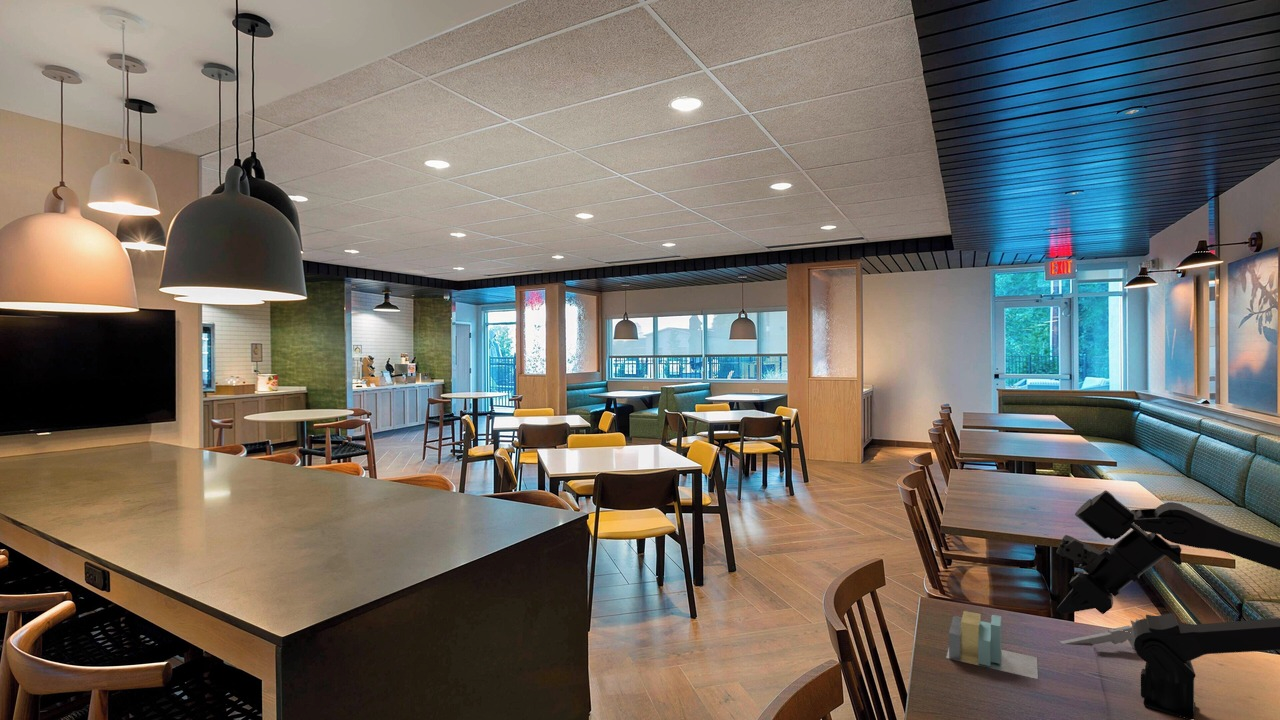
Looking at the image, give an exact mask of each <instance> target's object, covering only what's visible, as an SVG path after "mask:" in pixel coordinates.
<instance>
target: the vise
mask: <svg viewBox="0 0 1280 720" xmlns="http://www.w3.org/2000/svg"><path fill="white" fill-rule="evenodd" d="M961 620H962V616H958V615H953V617H952V621H951V623H950V627H949V631H948V649H947V652H946V656H945V658H946V659H949V660H954V661H959V662H962V663H965V664H966V663H967V664H970V665H975V666H980V667H984V668H988V669H993V670H997V671H1001V672H1005V673H1010V674H1013V675H1018V676H1023V677H1026V678H1031V679H1036V680H1038V679H1039V675H1038V657H1036V656H1033V655H1027V654H1023V653H1018V652H1014V651H1009V650H1005V649H1002V653H1001V664H999V663H994V662H991V665H990V666H986V665H982V664H978V661H974V660H969V659H965V658H961Z"/></svg>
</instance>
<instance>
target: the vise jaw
mask: <svg viewBox="0 0 1280 720" xmlns="http://www.w3.org/2000/svg"><path fill="white" fill-rule="evenodd" d="M990 620H991V621H990V622H988V621H983V620H981V625H980V631H979V637H978V664H982V665H986V666H990V665H991V662H994V663H999V664H1001V653H1002V650H1003V649H1002V616H1001V615H995V614H992V615H991V618H990Z"/></svg>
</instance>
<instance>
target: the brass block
mask: <svg viewBox="0 0 1280 720" xmlns="http://www.w3.org/2000/svg"><path fill="white" fill-rule="evenodd" d="M981 615H982V614H981V613H977V612H971V611H966V610H963V612H962V616H961V617H962V620H961V658H965V659H969V660H974V661H978V637H979V631H980V625H981V621H982V619H981V617H982V616H981Z"/></svg>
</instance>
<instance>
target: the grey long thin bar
mask: <svg viewBox="0 0 1280 720" xmlns="http://www.w3.org/2000/svg"><path fill="white" fill-rule="evenodd" d="M1138 620H1139V619H1138V618H1136V619H1135V621H1133V620H1132V619H1130V623H1131V625H1124V626H1119V627H1115V628H1111V629H1108V630H1107V631H1106V632H1100V633H1096V634H1090V635H1086V636H1080V637H1076V638H1070V639H1066V640H1060V641H1059V642H1060V643H1061V644H1063V645H1065V644H1067V645H1070V644H1072V645H1074V644H1075V645H1077V644H1078V645H1081V644H1083V645H1084V644H1085V645H1086V644H1092V645H1098V644H1104V643H1109V642H1110V643H1112V644H1114V645H1117V644H1123V643H1124V642H1127V641H1128V642H1129V644H1130V646H1131V648H1132V649H1134V650H1135V647H1134V642H1133V636H1132V628H1133V626H1134V624H1135V623H1136V622H1137V621H1138ZM1113 629H1117V630H1113ZM1120 630H1123V631H1120ZM1125 631H1128V632H1125ZM1130 632H1131V633H1130ZM1092 645H1091V646H1092Z"/></svg>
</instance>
